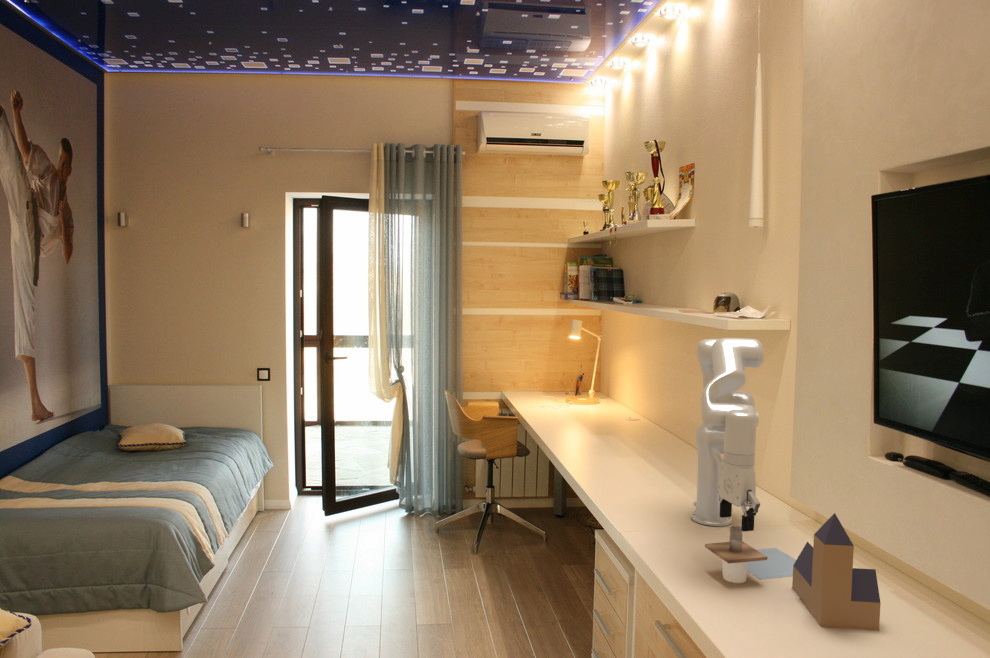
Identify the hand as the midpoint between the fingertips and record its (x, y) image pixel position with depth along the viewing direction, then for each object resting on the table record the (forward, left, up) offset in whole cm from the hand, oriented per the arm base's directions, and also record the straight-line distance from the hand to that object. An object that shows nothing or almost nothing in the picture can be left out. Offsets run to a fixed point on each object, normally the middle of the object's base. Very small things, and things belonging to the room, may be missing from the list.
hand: (736, 523), depth 176 cm
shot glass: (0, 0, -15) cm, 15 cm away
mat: (-7, +15, -15) cm, 22 cm away
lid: (0, 0, -8) cm, 8 cm away
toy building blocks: (+19, +14, -15) cm, 28 cm away
